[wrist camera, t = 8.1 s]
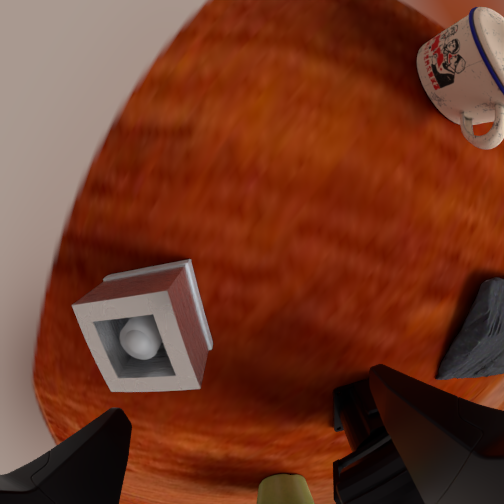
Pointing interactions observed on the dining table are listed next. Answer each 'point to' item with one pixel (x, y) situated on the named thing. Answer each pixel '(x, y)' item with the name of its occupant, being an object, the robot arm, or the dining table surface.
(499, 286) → the dark slate chunk
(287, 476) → the plant pot
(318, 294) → the dining table surface
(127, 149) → the dining table surface
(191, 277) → the shaft base
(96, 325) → the collar
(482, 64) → the teacup with lid
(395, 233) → the dining table surface
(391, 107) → the dining table surface
